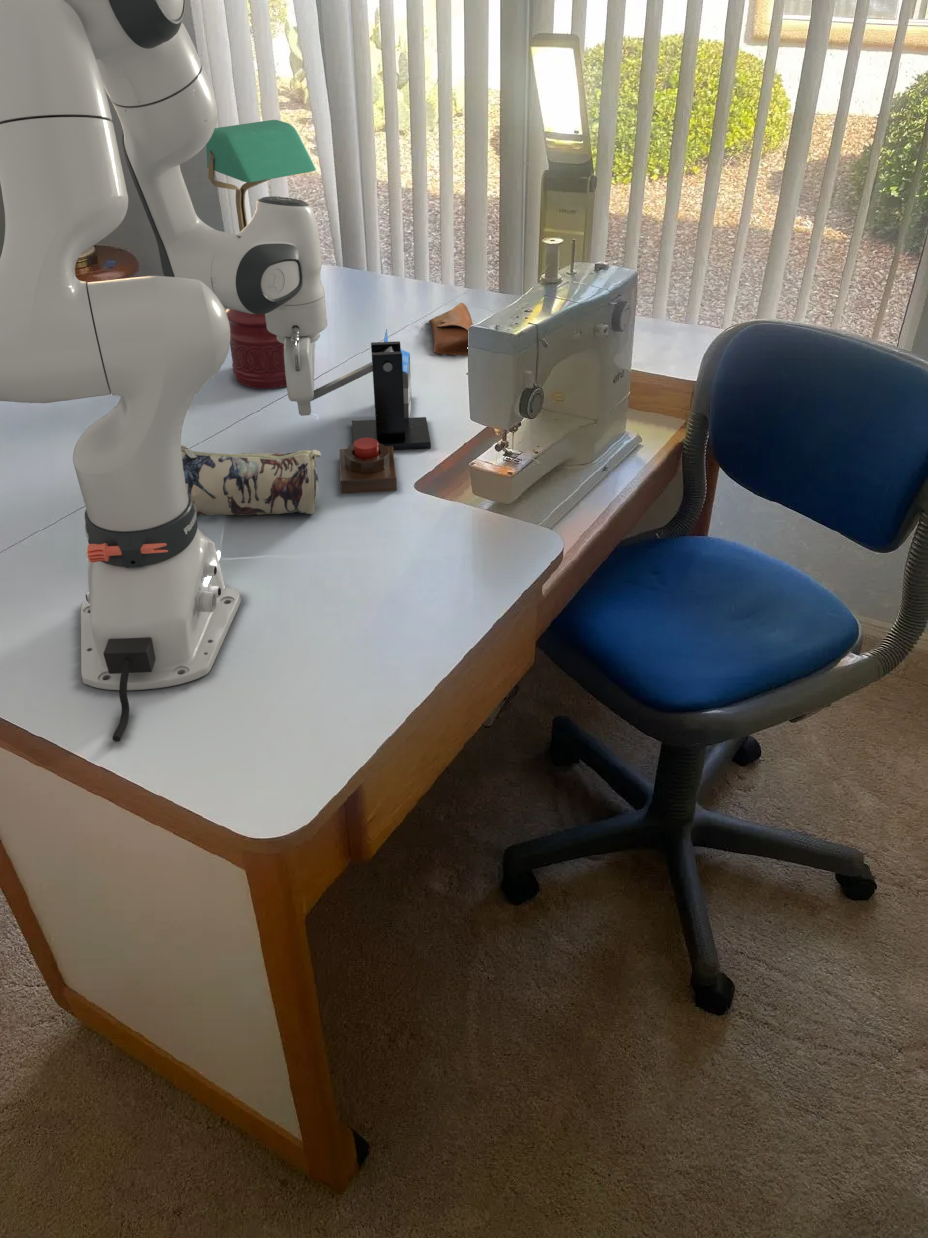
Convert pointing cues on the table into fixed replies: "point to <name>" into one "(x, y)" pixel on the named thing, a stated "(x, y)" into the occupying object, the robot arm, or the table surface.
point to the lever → (346, 378)
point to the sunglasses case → (452, 331)
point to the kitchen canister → (255, 351)
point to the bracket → (391, 405)
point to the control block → (367, 471)
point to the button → (366, 448)
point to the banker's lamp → (255, 156)
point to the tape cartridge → (405, 380)
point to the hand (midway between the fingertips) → (305, 404)
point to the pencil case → (251, 482)
